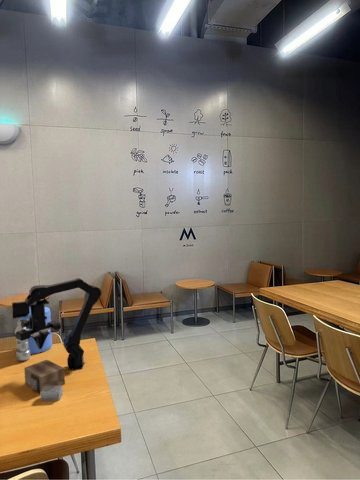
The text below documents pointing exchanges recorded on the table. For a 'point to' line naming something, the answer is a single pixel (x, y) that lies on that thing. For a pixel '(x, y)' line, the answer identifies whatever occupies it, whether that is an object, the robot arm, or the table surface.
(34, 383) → the peg
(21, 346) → the plastic bottle
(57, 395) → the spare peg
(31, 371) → the socket block
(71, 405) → the table surface
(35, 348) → the water jug
